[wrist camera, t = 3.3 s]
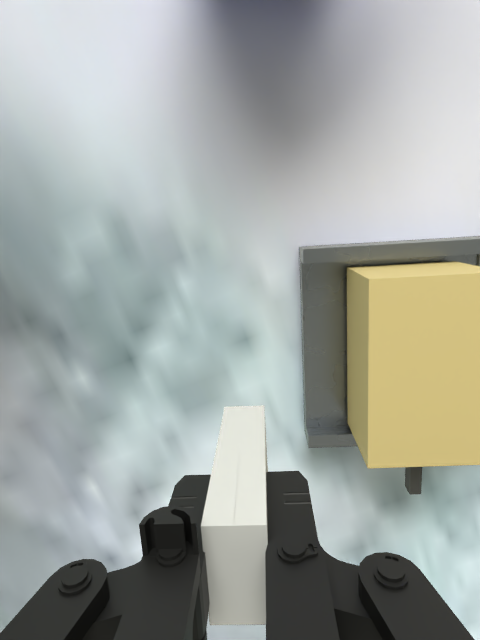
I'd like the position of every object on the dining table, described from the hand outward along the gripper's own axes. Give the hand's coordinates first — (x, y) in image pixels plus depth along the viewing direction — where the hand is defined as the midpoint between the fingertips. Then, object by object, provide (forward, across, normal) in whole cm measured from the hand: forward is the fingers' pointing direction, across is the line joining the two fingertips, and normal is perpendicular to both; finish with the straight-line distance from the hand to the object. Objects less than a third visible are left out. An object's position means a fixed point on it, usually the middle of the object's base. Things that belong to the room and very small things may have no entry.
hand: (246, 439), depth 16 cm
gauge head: (+10, +9, -1) cm, 14 cm away
